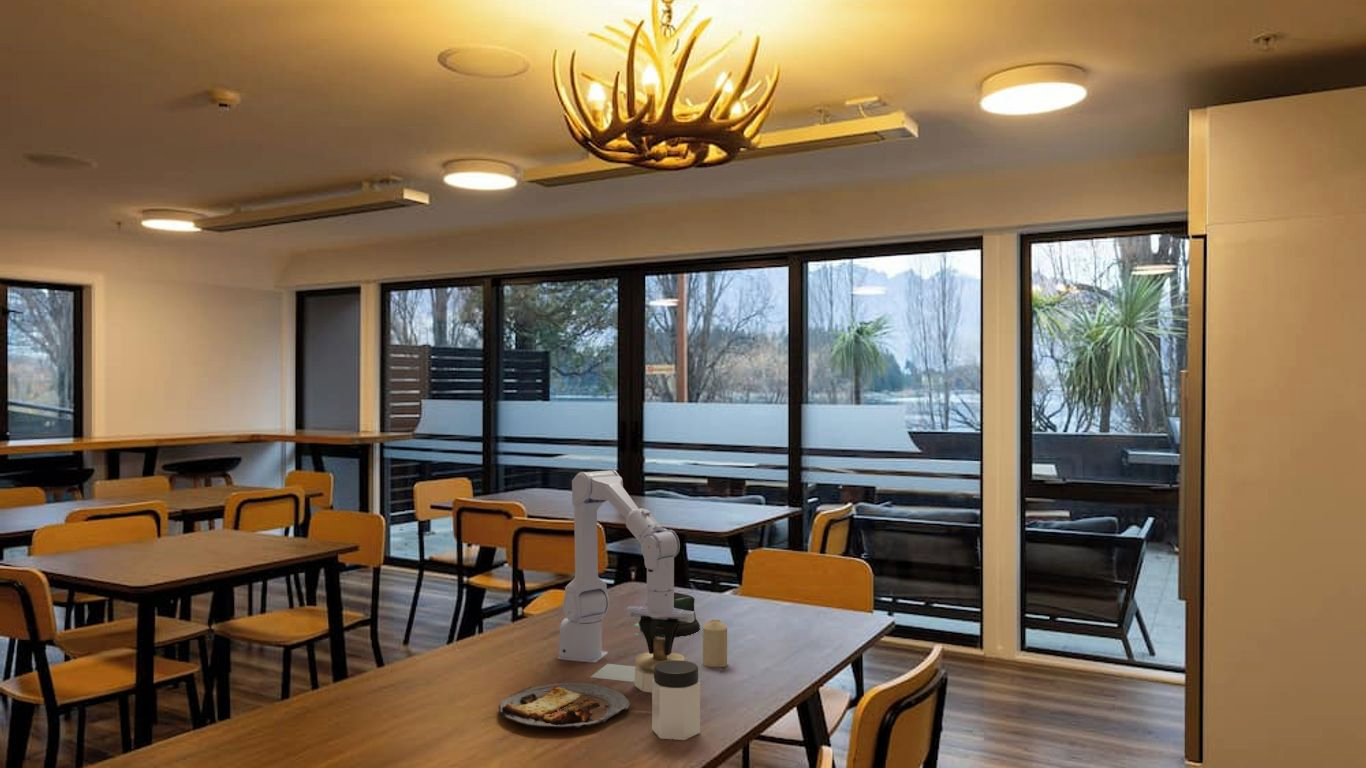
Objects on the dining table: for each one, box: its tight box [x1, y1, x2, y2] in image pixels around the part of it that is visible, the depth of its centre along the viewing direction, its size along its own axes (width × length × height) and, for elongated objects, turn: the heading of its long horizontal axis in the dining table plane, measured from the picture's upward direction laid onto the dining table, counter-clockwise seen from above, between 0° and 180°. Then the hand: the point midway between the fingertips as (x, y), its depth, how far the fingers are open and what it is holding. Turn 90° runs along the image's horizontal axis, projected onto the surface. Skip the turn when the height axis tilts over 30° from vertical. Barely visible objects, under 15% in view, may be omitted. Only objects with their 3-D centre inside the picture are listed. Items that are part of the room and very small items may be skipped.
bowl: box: [634, 665, 654, 693], centre depth 195 cm, size 10×10×4 cm
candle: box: [702, 619, 728, 668], centre depth 210 cm, size 6×6×10 cm
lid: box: [635, 637, 686, 670], centre depth 195 cm, size 10×10×5 cm
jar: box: [651, 660, 701, 741], centre depth 170 cm, size 9×8×12 cm
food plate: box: [498, 682, 630, 729], centre depth 180 cm, size 25×23×4 cm
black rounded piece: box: [633, 592, 701, 638], centre depth 241 cm, size 20×20×9 cm
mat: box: [590, 663, 636, 683], centre depth 203 cm, size 10×10×1 cm
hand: (660, 653), depth 195 cm, fingers closed on lid, 3 cm apart
